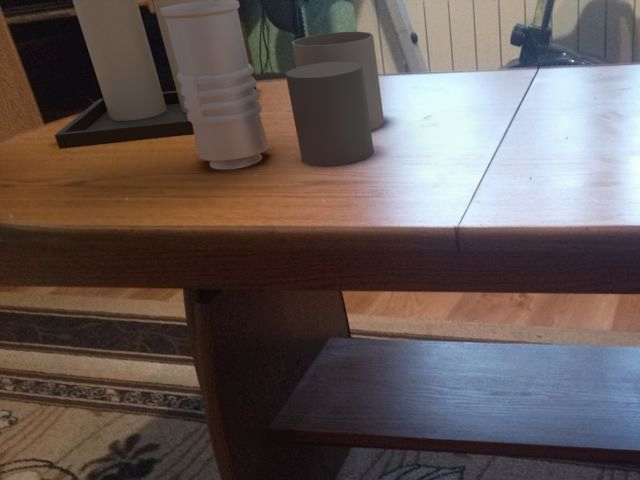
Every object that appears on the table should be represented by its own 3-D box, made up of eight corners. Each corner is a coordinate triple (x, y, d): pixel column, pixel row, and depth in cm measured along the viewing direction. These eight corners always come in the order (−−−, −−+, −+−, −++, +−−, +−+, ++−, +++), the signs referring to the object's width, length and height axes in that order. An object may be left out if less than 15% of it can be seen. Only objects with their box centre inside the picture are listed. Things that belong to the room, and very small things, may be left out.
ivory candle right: (177, 115, 92) (141, -17, 85) (186, 103, 98) (154, -21, 91) (233, 109, 93) (203, -22, 85) (239, 97, 99) (212, -26, 91)
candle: (187, 178, 72) (141, 10, 64) (238, 157, 77) (202, -1, 69) (237, 186, 69) (195, 11, 61) (287, 163, 74) (255, -1, 66)
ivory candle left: (103, 123, 92) (60, -10, 84) (117, 110, 97) (78, -15, 90) (161, 117, 92) (124, -15, 84) (171, 105, 98) (137, -20, 90)
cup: (324, 151, 77) (307, 49, 71) (299, 135, 83) (281, 40, 78) (397, 135, 80) (385, 36, 75) (367, 120, 86) (354, 29, 81)
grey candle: (302, 180, 69) (283, 80, 64) (304, 159, 75) (287, 66, 70) (377, 172, 69) (363, 72, 65) (373, 151, 75) (360, 58, 71)
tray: (60, 153, 83) (54, 135, 82) (103, 114, 99) (98, 98, 98) (245, 133, 85) (241, 115, 84) (258, 98, 101) (255, 82, 100)
